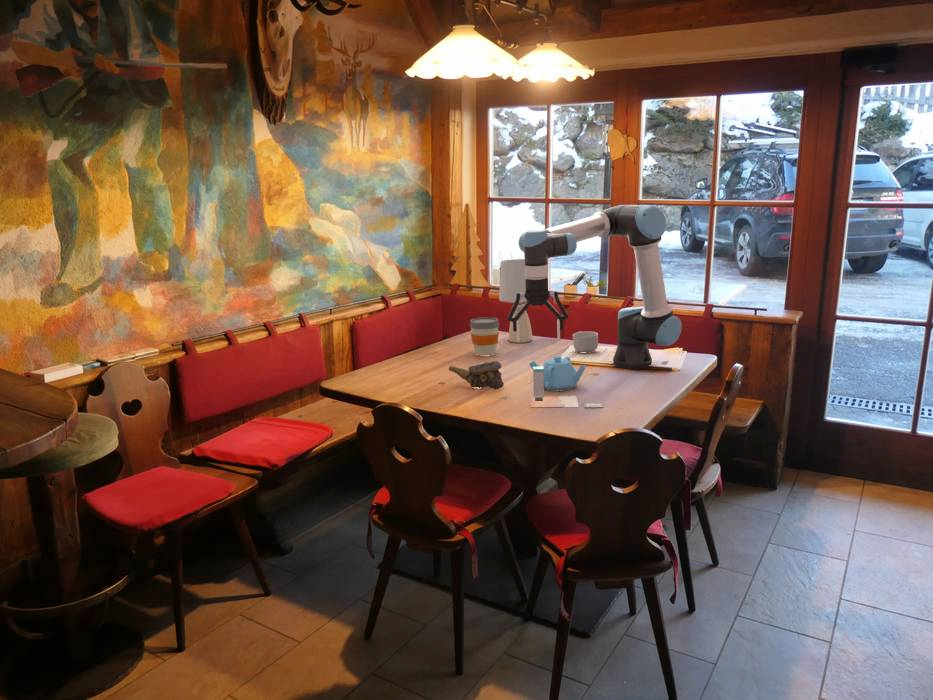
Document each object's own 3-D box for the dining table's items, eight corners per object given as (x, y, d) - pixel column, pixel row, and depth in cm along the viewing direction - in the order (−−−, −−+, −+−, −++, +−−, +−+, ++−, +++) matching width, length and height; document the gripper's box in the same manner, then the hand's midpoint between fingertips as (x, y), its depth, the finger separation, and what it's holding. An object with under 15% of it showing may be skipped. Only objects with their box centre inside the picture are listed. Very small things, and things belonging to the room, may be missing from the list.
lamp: (529, 346, 342) (528, 264, 333) (493, 343, 351) (490, 263, 342) (547, 338, 357) (545, 259, 349) (511, 335, 366) (509, 258, 358)
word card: (601, 404, 255) (601, 403, 255) (603, 407, 251) (603, 406, 251) (583, 404, 255) (583, 403, 255) (584, 408, 251) (584, 407, 251)
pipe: (500, 392, 273) (500, 365, 271) (443, 389, 280) (442, 363, 277) (506, 385, 282) (506, 359, 279) (451, 382, 288) (450, 357, 286)
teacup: (599, 354, 322) (599, 335, 321) (574, 355, 323) (574, 336, 321) (594, 346, 336) (594, 329, 334) (570, 347, 336) (570, 330, 334)
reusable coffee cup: (468, 357, 326) (466, 322, 323) (474, 350, 338) (473, 317, 335) (497, 357, 324) (496, 323, 320) (502, 350, 336) (501, 317, 332)
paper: (576, 396, 264) (576, 396, 264) (578, 407, 252) (578, 406, 252) (529, 397, 265) (529, 396, 265) (530, 407, 254) (530, 407, 254)
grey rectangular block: (543, 398, 263) (543, 366, 260) (544, 401, 259) (543, 369, 257) (533, 398, 263) (533, 366, 260) (533, 401, 260) (533, 369, 257)
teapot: (565, 377, 289) (565, 349, 286) (587, 389, 273) (587, 359, 270) (528, 382, 284) (528, 353, 281) (548, 395, 268) (547, 364, 265)
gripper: (573, 274, 254) (575, 336, 259) (499, 277, 256) (501, 338, 261) (575, 277, 247) (576, 341, 252) (498, 281, 249) (501, 343, 254)
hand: (538, 340), depth 257 cm, fingers open, 13 cm apart
